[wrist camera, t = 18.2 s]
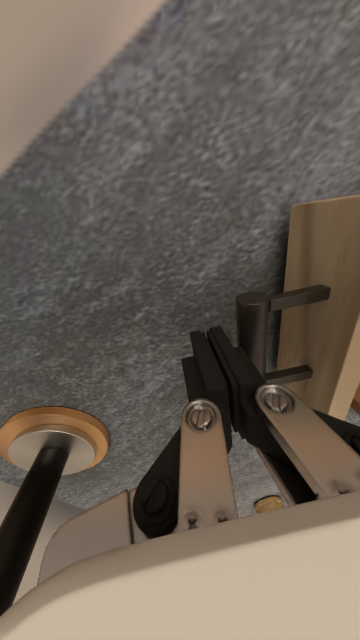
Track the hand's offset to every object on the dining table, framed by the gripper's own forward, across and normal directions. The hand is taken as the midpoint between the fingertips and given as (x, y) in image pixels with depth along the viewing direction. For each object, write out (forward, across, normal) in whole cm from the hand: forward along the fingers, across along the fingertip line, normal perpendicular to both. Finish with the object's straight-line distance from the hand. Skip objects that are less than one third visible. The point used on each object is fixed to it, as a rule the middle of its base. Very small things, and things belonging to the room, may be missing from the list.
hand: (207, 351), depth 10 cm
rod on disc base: (+2, +14, +9) cm, 17 cm away
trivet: (+3, +14, +9) cm, 17 cm away
